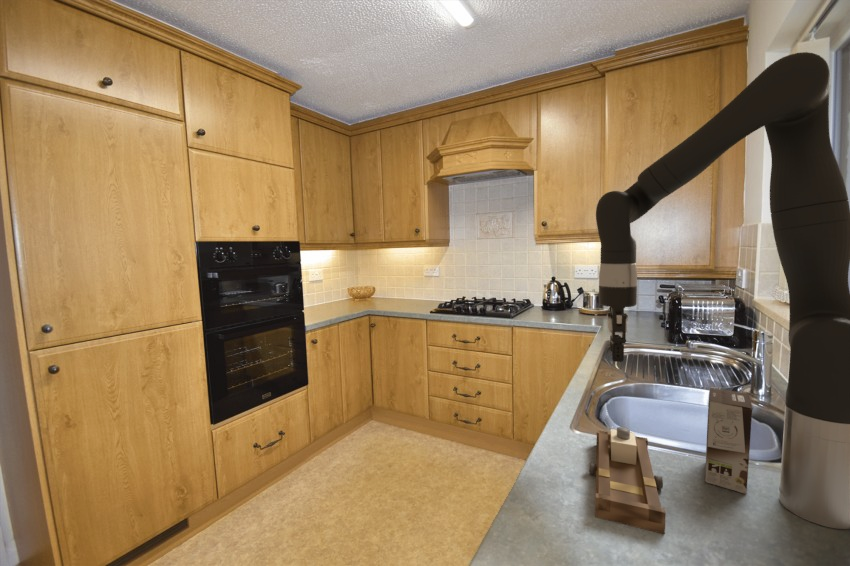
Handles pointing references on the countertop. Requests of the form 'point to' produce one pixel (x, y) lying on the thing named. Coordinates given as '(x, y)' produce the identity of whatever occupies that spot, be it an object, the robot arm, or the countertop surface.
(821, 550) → the countertop surface
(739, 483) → the coffee box
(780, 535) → the countertop surface
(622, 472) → the wooden slider track
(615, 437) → the rider
